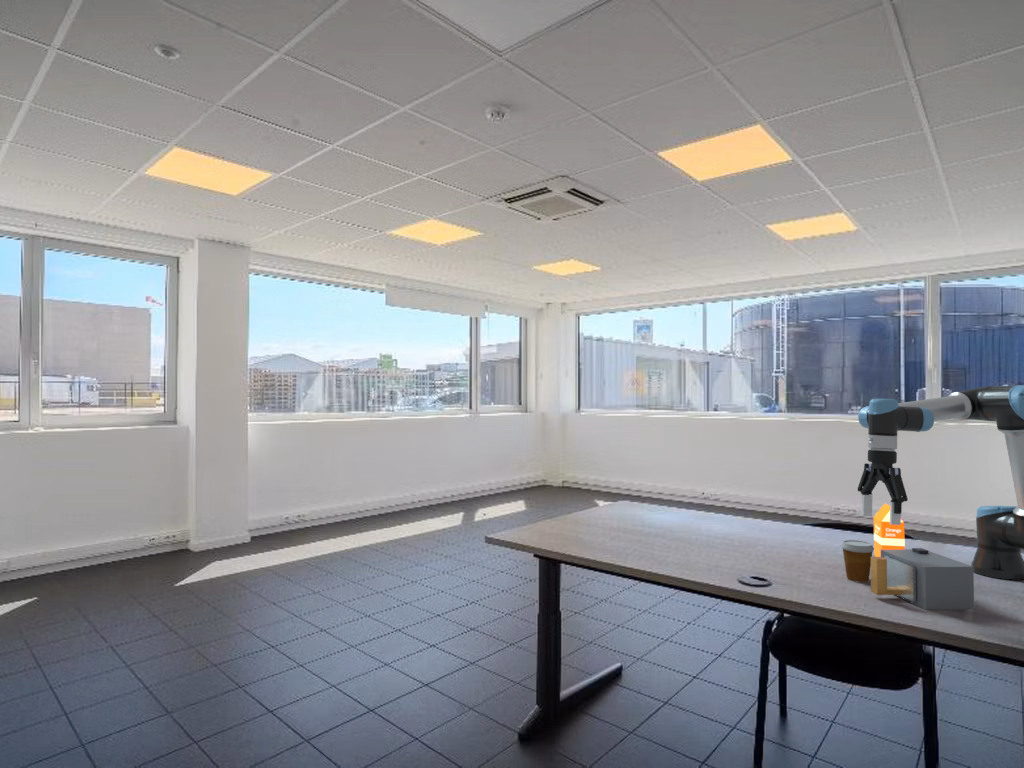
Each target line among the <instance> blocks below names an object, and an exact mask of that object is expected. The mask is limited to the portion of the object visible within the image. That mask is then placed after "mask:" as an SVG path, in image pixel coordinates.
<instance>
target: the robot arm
mask: <svg viewBox="0 0 1024 768" xmlns="http://www.w3.org/2000/svg"><path fill="white" fill-rule="evenodd" d="M857 417H858V418H857V419H858V423H859V425H861V426H862V427H863V428H865V429H868V438H867V442H868V443H867V444H868V445H867V447H868V448H869V449H868V450H867V461H868V462H870V463H868V462H867V463H864V464H863V465H864V466H863V471H862V475H861V478H860V481H859V484H858V487H857V492H860V494H861V503H862V505H861V516H862V517H872V516H873V490H875V487H876V485H877V484H878V482H879V481H880V482H882V483H883V484H884V485H885V487H886V490H887V491H888V493H889V496H890V498H891V500H890V502H889V506H890V524H891V525H901V520H902V511H903V510H902V506H903V505H902V504H903V503H904V502H908V495H907V492H906V488H905V485H904V482H903V478H902V470H901V468H900V467H894V466H893V465H894V464H897V462H898V460H897V459H898V457H897V456H898V453H897V451H896V450H898V431H900V432H901V431H902V432H915V433H916V432H918V433H920V432H921V433H922V432H927V431H929V430H930V429H932V428H933V426H934V424H935V422H938V421H945V420H950V419H951V420H953V419H954V420H956V421H970V420H971V421H982V422H983V421H985V422H986V421H987V422H996V427H997V429H996V430H997V431H999V432H1001V433H1003V435H1004V439H1005V444H1006V450H1007V455H1008V459H1009V466H1010V471H1011V477H1012V481H1013V488H1014V493H1015V498H1016V504H1017V506H1015V505H982V506H979V507H977V508H976V516H975V519H976V520H975V521H976V522H975V524H976V547H977V549H976V551H975V553H974V556H973V558H972V559H973V560H972V561H971V563H970V564H971V565H970V566H973V573H975V574H978V575H982V576H984V575H985V576H986V577H989V578H995V579H1000V578H1001V580H1009V579H1012V581H1015V580H1016V581H1018V580H1020V579H1024V558H1023V556H1022V554H1021V553H1022V551H1021V550H1024V385H1022V384H1017V385H995V386H994V385H993V386H991V385H989V386H982V387H977V388H972V389H971V388H970V389H966V390H962V391H956V392H955V391H954V392H951V393H950V394H949V395H947V396H942V397H941V396H940V397H935V398H934V397H933V398H928V399H926V398H925V399H921V400H913V401H912V400H911V401H906V402H899V401H898V400H897V399H895V398H872V399H870V400H869V405H867V406H864V407H862V408H861V409H860V410H859V412H858V416H857ZM985 576H984V577H985ZM1020 581H1021V580H1020Z"/></svg>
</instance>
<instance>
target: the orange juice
mask: <svg viewBox="0 0 1024 768" xmlns="http://www.w3.org/2000/svg"><path fill="white" fill-rule="evenodd" d="M872 518H873V548H874V550H873V554H874V555H875V556H874V555H873V556H874V557H881V554H880V550H895V549H906V545H905V544H906V539H905V522H904V521H903V520H902V519H901V525H891V524H890V504H887V503H884V504H883V505H882V506H881V507H880V509H879V510H878V511H877V512H876V513H875V515H874V516H873V517H872Z"/></svg>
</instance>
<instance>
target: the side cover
mask: <svg viewBox="0 0 1024 768" xmlns="http://www.w3.org/2000/svg"><path fill="white" fill-rule="evenodd" d="M870 592H871V593H872V594H874V595H876V596H897V595H900V596H902V597H904V598H906V599H908V600H910V601H912V602H916V567H914V566H911V565H909V564H906V563H904V562H901V561H899V560H896V559H894V558H891V557H889V556H884V558H882V557H876V556H872V557H871V567H870Z"/></svg>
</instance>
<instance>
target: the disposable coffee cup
mask: <svg viewBox="0 0 1024 768" xmlns="http://www.w3.org/2000/svg"><path fill="white" fill-rule="evenodd" d="M840 547H841V549H842V552H843V553H842V554H843V559H844V567H845V573H846V579H847V578H848V579H847V580H849V581H851V582H852V581H853V582H856V581H857V583H867V582H869V580H870V576H871V557H873V553H874V544H872V543H871V542H869V541H868V542H867V541H863V540H859V539H858V540H855V539H845V540H842V543H841V545H840Z"/></svg>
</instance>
